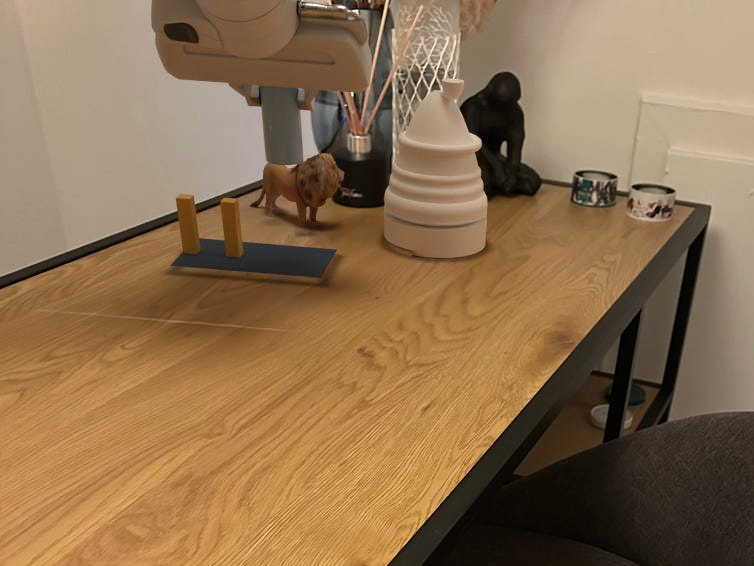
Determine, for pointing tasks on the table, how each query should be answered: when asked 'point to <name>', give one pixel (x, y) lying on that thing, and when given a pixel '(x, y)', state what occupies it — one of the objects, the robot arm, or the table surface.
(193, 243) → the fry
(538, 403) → the table surface
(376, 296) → the table surface
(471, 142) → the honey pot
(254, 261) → the mat
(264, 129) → the grey cylinder
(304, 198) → the lion figurine
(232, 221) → the post
